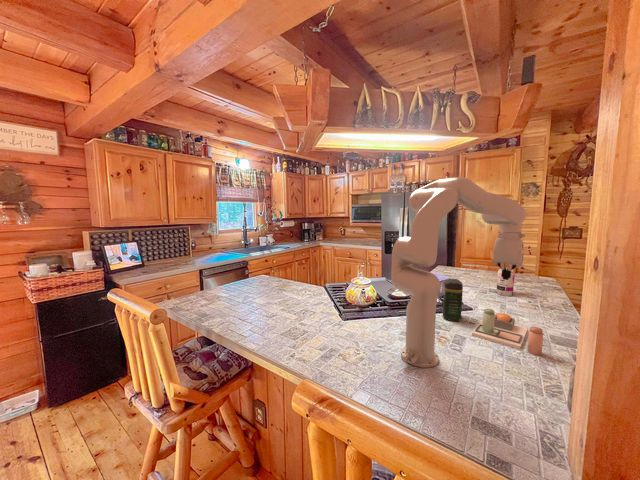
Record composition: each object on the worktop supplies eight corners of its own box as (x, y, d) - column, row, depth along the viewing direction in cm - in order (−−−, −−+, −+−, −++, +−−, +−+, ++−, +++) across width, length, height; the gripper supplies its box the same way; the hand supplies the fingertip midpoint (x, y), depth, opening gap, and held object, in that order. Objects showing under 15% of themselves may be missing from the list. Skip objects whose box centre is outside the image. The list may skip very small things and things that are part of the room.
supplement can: (512, 293, 158) (514, 268, 156) (513, 297, 151) (515, 271, 149) (496, 291, 162) (497, 267, 160) (496, 295, 155) (498, 270, 153)
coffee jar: (462, 322, 120) (464, 283, 118) (443, 320, 123) (444, 281, 121) (460, 314, 129) (461, 277, 126) (442, 312, 132) (443, 276, 129)
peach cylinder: (540, 356, 92) (543, 332, 91) (526, 352, 95) (528, 329, 94) (542, 352, 95) (544, 328, 94) (528, 348, 98) (530, 325, 97)
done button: (508, 327, 110) (509, 318, 110) (495, 324, 113) (495, 315, 113) (510, 324, 114) (511, 315, 113) (497, 320, 117) (498, 312, 116)
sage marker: (491, 334, 106) (493, 313, 105) (480, 330, 109) (482, 310, 108) (495, 330, 109) (496, 310, 107) (484, 327, 112) (485, 307, 110)
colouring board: (520, 349, 97) (521, 338, 97) (471, 335, 108) (472, 325, 108) (527, 330, 111) (528, 320, 111) (484, 319, 122) (484, 310, 122)
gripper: (533, 236, 106) (529, 280, 108) (490, 234, 117) (487, 274, 119) (530, 238, 101) (526, 284, 103) (485, 235, 111) (483, 277, 114)
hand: (505, 279), depth 111 cm, fingers closed
